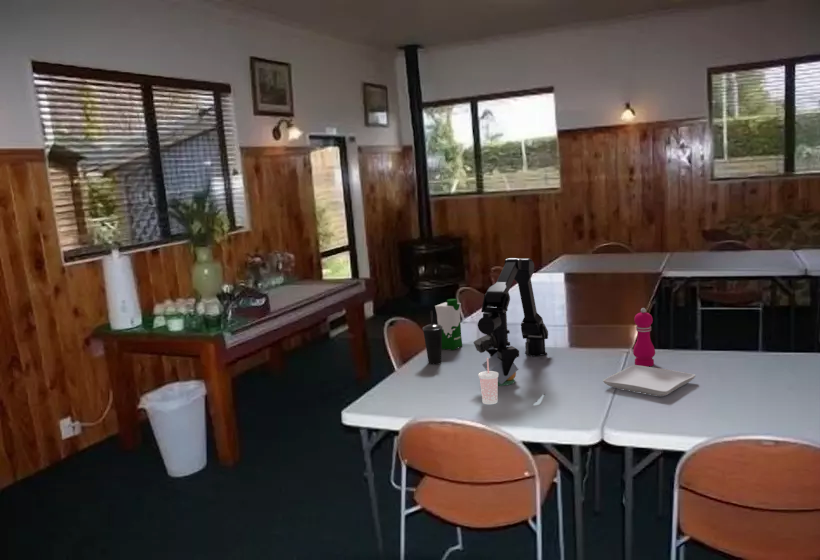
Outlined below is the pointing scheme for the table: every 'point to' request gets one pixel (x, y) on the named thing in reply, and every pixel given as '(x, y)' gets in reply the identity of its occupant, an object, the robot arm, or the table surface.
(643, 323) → the pepper mill
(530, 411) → the table surface
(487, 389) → the beverage cup
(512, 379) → the ball
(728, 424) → the table surface
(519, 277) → the robot arm
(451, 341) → the milk carton
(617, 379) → the salad plate
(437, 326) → the drinking cup
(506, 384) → the disc
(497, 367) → the grey block
